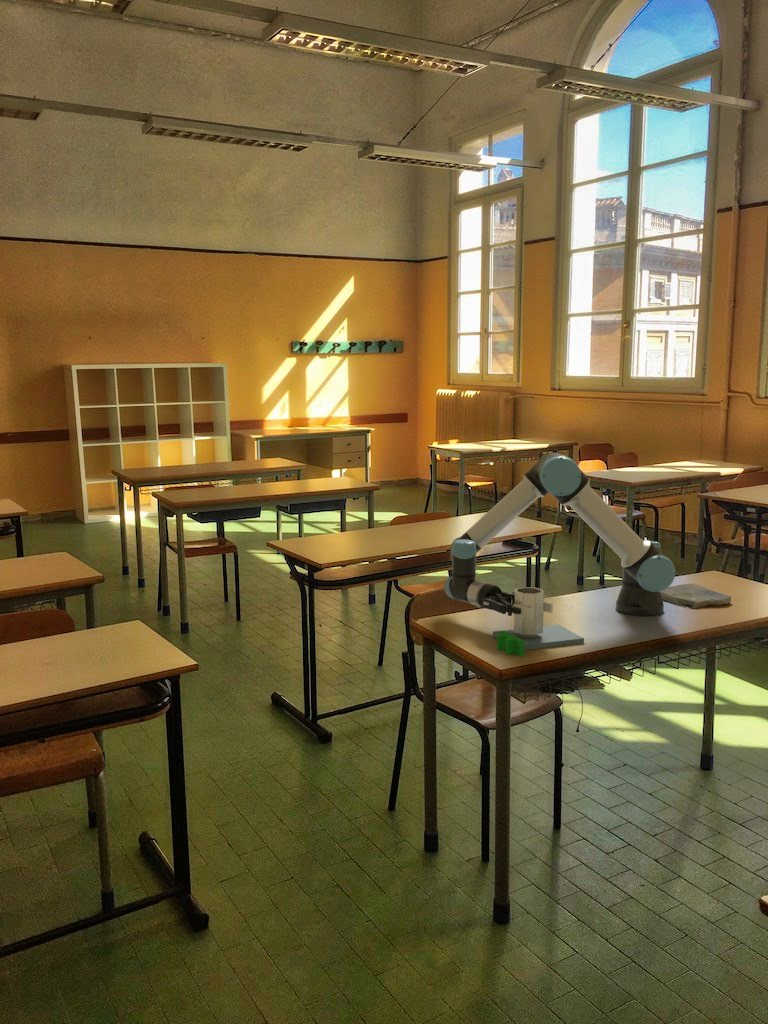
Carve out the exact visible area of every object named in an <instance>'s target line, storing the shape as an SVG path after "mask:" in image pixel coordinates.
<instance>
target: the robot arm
mask: <svg viewBox="0 0 768 1024" xmlns="http://www.w3.org/2000/svg"><path fill="white" fill-rule="evenodd" d="M590 481H591V480H590V478H589V476H588V475H586V474H585V472H583V471H582V469H580V466H579V465H578V464H577V462H576V461H575V460H573V459H572V458H571V457H569V456H567V455H564V454H562V453H559V452H550V453H547V454H544V455H543V456H542V457H540V458H539V459H538V461H536V462H535V463H534V464H533V466H531V468H530V469H528V470H527V471H526V473H524V474H523V476H522V480H521V481H520V482H519V483H518V484H517V485H515V487H513V489H511V491H509V492H508V493H507V494H506V495H505V496H504V497H502V498H501V499H500V500H499V501H498V502H497V503H496V504H495V505H494V506H493V507H492V508H491V509H490V510H488V511H487V512H486V513H484V514H483V516H481V518H480V519H479V520H477V521H476V522H475V523H474V524H473V525H472V526H470V528H469V529H467V530H466V532H464V533H462V535H461V536H459V537H457V538H455V539H454V540H453V541H452V543H451V545H450V549H449V551H450V555H451V570H452V571H451V575H450V576H448V578H446V580H445V581H446V582H445V584H444V592H445V594H446V595H447V596H448V597H449V598H451V599H453V600H456V601H457V602H462V603H467V604H470V605H473V606H476V607H477V608H482V609H486V610H491V611H495V612H497V613H500V614H501V615H506V614H507V616H508V617H511V616H513V615H514V614H516V615H520V616H523V617H527V618H531V615H532V609H531V608H527V607H524V606H520V605H516V604H514V603H515V591H512V593H508V592H505V591H502V589H501V588H500V586H498V585H496V584H490V583H488V582H484V581H479V580H477V579H476V576H477V575H476V574H477V572H476V570H477V568H476V567H477V553H478V552H480V551H481V550H482V549H483V548H484V547H485V546H486V545H488V543H489V542H491V541H492V540H493V538H495V537H496V536H498V534H500V533H501V532H502V531H503V530H504V529H505V528H506V527H507V526H508V525H510V524H511V523H512V522H513V521H514V520H515V519H516V518H518V517H519V515H520V514H521V513H523V512H524V511H526V509H528V507H530V506H531V505H532V504H533V503H534V502H535V501H536V500H537V499H539V498H544V497H546V496H547V495H548V493H549V494H550V495H551V496H552V497H553V498H554V499H555V500H556V501H557V502H558V503H560V505H561V506H568V507H570V508H571V509H572V510H573V511H574V512H575V513H576V514H577V516H579V517H580V519H582V520H583V521H584V523H586V524H587V525H588V526H589V528H591V530H592V531H594V532H595V534H597V535H598V536H599V538H601V540H602V541H604V543H605V544H606V545H607V546H608V547H609V548H610V549H612V551H613V552H614V553H615V554H616V555H617V556H618V557H619V558H620V559H621V561H620V562H621V563H620V565H621V567H622V573H621V574H622V576H621V577H622V578H621V579H622V580H621V588H620V590H619V593H618V596H617V599H616V600H615V610H616V611H618V612H620V613H623V614H627V615H634V616H648V617H649V616H656V615H660V614H662V613H664V610H665V609H664V608H665V607H664V601H663V599H662V597H661V594H660V591H663V590H665V589H666V588H668V587H671V586H672V584H673V582H674V580H675V579H676V567H675V565H674V563H673V562H672V560H671V559H670V558H669V557H667V556H665V555H664V554H663V553H662V548H661V543H660V542H658V541H653V540H652V541H651V540H649V539H642V538H641V537H640V536H639V535H638V534H637V533H636V532H635V531H634V530H633V529H632V528H631V527H630V526H629V525H628V524H627V523H626V522H625V521H624V520H623V519H622V517H620V516H619V515H618V514H617V512H615V510H614V509H613V508H611V506H609V504H608V503H607V502H606V501H604V500H603V498H602V497H601V496H600V495H599V494H598V493H597V492H596V491H595V490H594V489H593V488H592V487H591V485H590ZM553 606H554V603H552V602H548V601H544V605H543V612H546V613H550V614H553V611H554V610H553V609H554V608H553Z"/></svg>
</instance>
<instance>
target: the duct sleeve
mask: <svg viewBox="0 0 768 1024" xmlns="http://www.w3.org/2000/svg"><path fill="white" fill-rule="evenodd" d="M514 592H515V603H514V604H516V605H520V606H524V607H527V608H531V609H532V615H531V618H527V617H523V616H520V615H516V614H513V615H514V617H513V629H514V632H516V633H520V634H523V635H536V634H540V633H543V626H544V611H543V605H544V599H545V597H544V596H545V591H544V589H543V588H539V587H534V586H533V587H532V586H531V587H528V586H522V587H517V588H514Z"/></svg>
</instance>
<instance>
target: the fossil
mask: <svg viewBox="0 0 768 1024" xmlns="http://www.w3.org/2000/svg"><path fill="white" fill-rule="evenodd" d="M660 594H661V597H662V600H664V601H666V602H669V603H672V604H674V603H675V605H676V604H679V605H678V606H680V605H682V606H681V607H683V606H684V608H686V607H688V608H687V609H689V608H691V609H696V607H697V608H700V607H699V606H702V607H706V606H707V605H708V606H723V605H722V604H728V603H729V604H731V603H732V602H731V601H732V595H728V594H724V593H721V592H718V591H714V590H713V589H710V588H707V587H705V586H702V585H700V584H699V583H698V584H697V583H685V584H677V585H670V586H669V587H668V588H666V589H665V590H663V591H660ZM729 604H728V605H729Z"/></svg>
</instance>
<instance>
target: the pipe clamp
mask: <svg viewBox="0 0 768 1024" xmlns="http://www.w3.org/2000/svg"><path fill="white" fill-rule="evenodd" d="M498 631H499V635H497V639H496V650H497V651H505V655H507V656H509V655H514V654H515V655H517V656H519V657H522V658H523V657H525V651H526V650H525V641H524V640H522V639H519V638H517V637H515V636H513V635H511V634H509V633H507V632H505V631H503V629H502V630H498Z"/></svg>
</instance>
